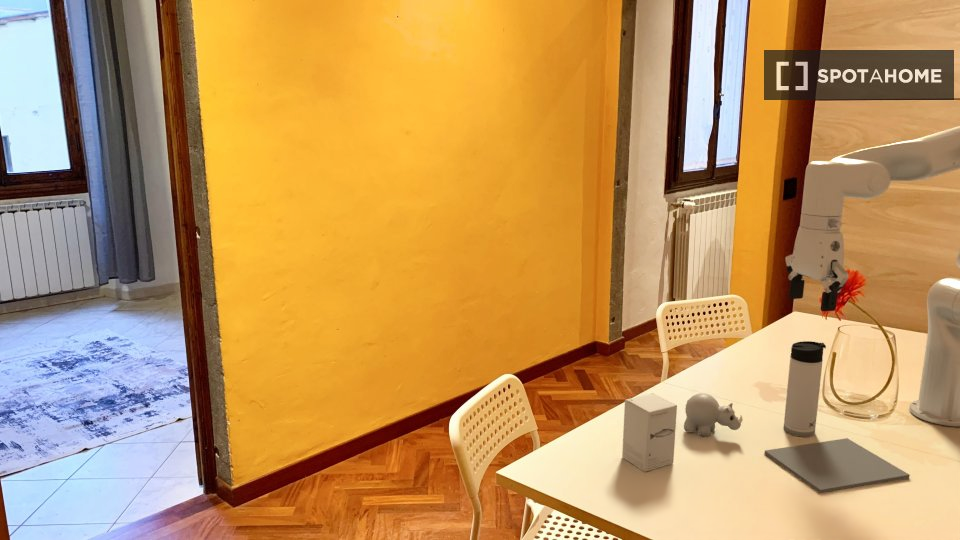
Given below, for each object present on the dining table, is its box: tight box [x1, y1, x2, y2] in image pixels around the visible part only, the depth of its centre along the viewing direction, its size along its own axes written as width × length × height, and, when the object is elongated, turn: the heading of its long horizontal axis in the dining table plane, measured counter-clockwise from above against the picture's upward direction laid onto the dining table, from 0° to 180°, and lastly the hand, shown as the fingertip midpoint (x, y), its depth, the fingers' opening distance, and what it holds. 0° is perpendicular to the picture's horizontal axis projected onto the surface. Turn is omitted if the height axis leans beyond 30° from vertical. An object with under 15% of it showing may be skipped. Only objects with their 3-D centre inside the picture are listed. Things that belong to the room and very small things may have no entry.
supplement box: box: [621, 393, 678, 473], centre depth 145 cm, size 7×7×13 cm
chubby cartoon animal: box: [683, 393, 743, 437], centre depth 157 cm, size 7×12×8 cm, turn 54°
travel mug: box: [783, 340, 827, 438], centre depth 157 cm, size 6×7×20 cm
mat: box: [763, 437, 910, 494], centre depth 144 cm, size 20×16×1 cm
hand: (811, 304), depth 153 cm, fingers open, 9 cm apart
